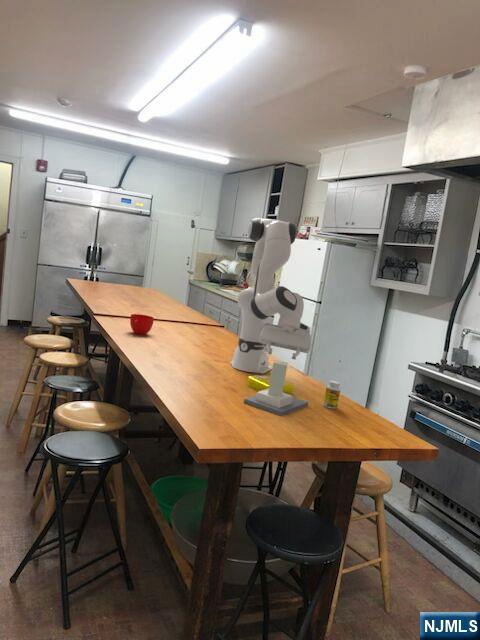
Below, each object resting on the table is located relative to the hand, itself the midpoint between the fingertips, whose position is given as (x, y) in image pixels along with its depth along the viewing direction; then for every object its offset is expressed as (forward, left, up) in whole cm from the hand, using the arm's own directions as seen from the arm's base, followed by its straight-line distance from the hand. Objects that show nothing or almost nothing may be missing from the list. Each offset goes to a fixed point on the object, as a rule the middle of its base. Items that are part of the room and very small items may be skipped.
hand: (281, 355), depth 191 cm
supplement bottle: (-15, +17, -18) cm, 29 cm away
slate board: (+4, +3, -18) cm, 18 cm away
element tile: (-12, -9, -18) cm, 24 cm away
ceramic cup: (-37, -108, -18) cm, 115 cm away
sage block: (+7, +3, -13) cm, 15 cm away
